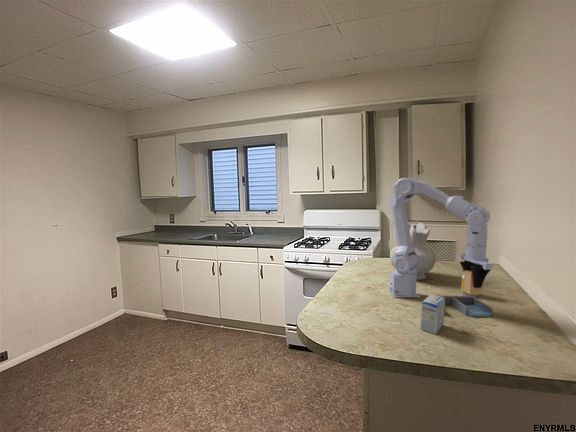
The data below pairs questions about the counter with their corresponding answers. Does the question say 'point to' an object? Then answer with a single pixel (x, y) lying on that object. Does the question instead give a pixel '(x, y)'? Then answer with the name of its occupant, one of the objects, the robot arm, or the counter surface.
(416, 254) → the robot arm
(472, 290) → the tan rectangular block
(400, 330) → the counter surface
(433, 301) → the medicine box
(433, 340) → the counter surface
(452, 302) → the blue shallow tray
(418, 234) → the ceramic pitcher
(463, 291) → the supplement bottle
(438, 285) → the counter surface
